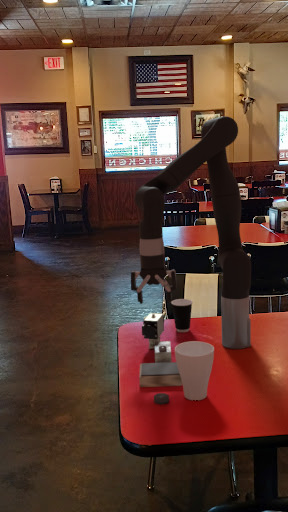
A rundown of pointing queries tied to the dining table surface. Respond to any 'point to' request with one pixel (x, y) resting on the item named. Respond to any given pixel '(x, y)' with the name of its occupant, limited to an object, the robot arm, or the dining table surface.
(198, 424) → the dining table surface
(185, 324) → the dixie cup
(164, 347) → the block
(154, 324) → the pneumatic valve
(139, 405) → the dining table surface
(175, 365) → the stand
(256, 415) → the dining table surface
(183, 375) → the cup
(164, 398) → the black cap
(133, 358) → the dining table surface
